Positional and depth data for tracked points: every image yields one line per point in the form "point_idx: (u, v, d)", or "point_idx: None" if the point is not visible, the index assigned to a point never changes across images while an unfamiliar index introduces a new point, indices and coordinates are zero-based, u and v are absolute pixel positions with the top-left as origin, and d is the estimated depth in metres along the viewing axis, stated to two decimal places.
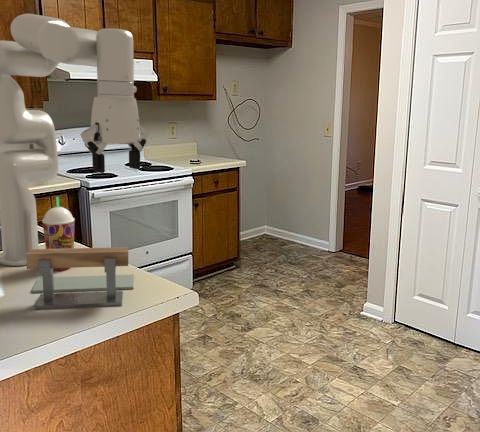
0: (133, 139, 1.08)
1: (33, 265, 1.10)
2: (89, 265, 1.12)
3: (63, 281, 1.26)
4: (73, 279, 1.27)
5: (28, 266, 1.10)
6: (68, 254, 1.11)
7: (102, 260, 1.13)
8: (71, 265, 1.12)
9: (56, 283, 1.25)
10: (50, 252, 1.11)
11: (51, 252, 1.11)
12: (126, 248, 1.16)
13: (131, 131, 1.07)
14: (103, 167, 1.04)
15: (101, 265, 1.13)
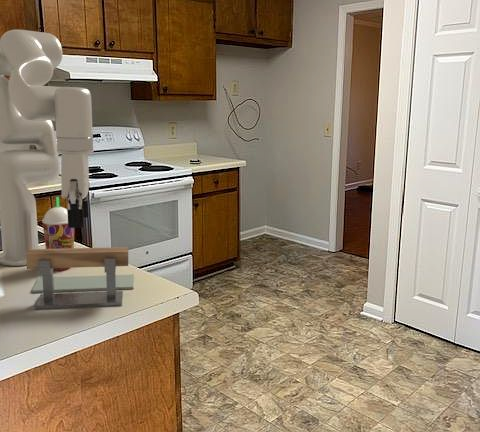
0: None
1: (33, 265, 1.10)
2: (89, 265, 1.12)
3: (63, 281, 1.26)
4: (73, 279, 1.27)
5: (28, 266, 1.10)
6: (68, 254, 1.11)
7: (102, 260, 1.13)
8: (71, 265, 1.12)
9: (56, 283, 1.25)
10: (50, 252, 1.11)
11: (51, 252, 1.11)
12: (126, 248, 1.16)
13: None
14: (83, 221, 1.06)
15: (101, 265, 1.13)
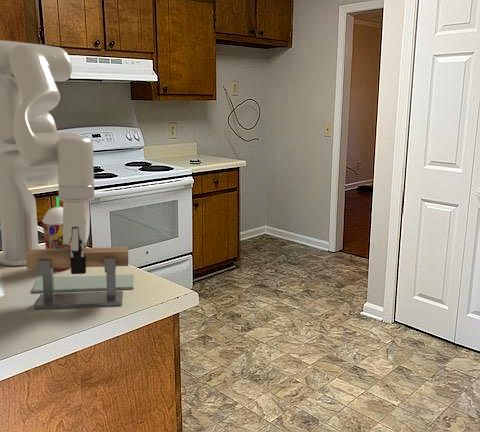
0: None
1: (33, 265, 1.10)
2: (89, 265, 1.12)
3: (63, 281, 1.26)
4: (73, 279, 1.27)
5: (28, 266, 1.10)
6: (68, 254, 1.11)
7: (102, 260, 1.13)
8: None
9: (56, 283, 1.25)
10: (50, 252, 1.11)
11: (51, 252, 1.11)
12: (126, 248, 1.16)
13: (89, 226, 1.14)
14: (85, 268, 1.12)
15: (101, 265, 1.13)
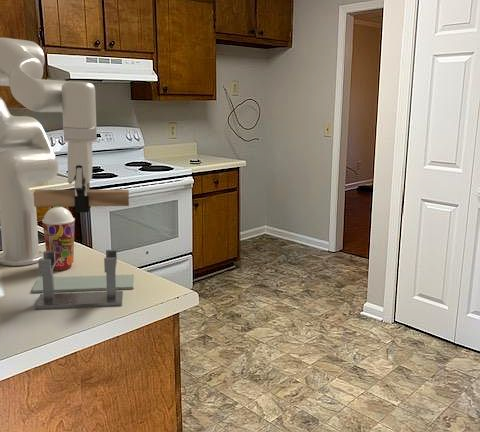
0: (91, 176, 1.23)
1: (40, 203, 1.18)
2: (92, 204, 1.20)
3: (63, 281, 1.26)
4: (73, 279, 1.27)
5: (35, 204, 1.17)
6: (72, 193, 1.19)
7: (104, 200, 1.20)
8: None
9: (56, 283, 1.25)
10: (56, 191, 1.18)
11: (57, 191, 1.18)
12: (127, 190, 1.23)
13: None
14: (88, 207, 1.20)
15: (103, 204, 1.21)
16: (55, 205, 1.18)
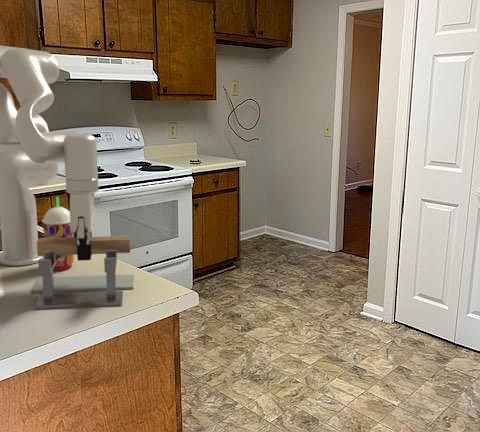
0: (93, 223, 1.26)
1: None
2: (94, 252, 1.23)
3: (63, 281, 1.26)
4: (73, 279, 1.27)
5: (38, 253, 1.20)
6: (75, 242, 1.21)
7: (106, 247, 1.23)
8: None
9: (56, 283, 1.25)
10: (58, 240, 1.21)
11: (59, 240, 1.21)
12: (128, 237, 1.26)
13: None
14: (90, 255, 1.22)
15: (105, 252, 1.23)
16: (58, 254, 1.21)
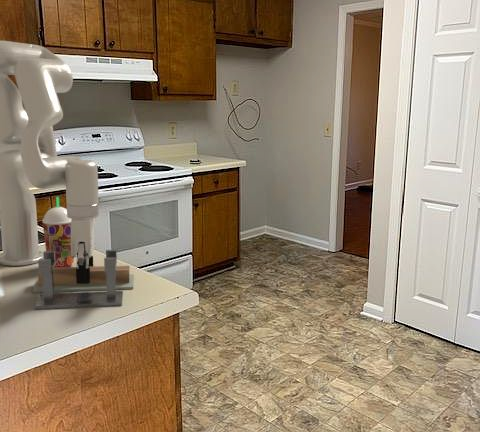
0: None
1: None
2: (94, 282, 1.25)
3: None
4: None
5: (39, 283, 1.22)
6: (75, 273, 1.23)
7: None
8: None
9: None
10: (59, 271, 1.23)
11: (60, 271, 1.23)
12: (127, 266, 1.28)
13: None
14: (89, 278, 1.22)
15: (105, 282, 1.25)
16: (58, 284, 1.23)
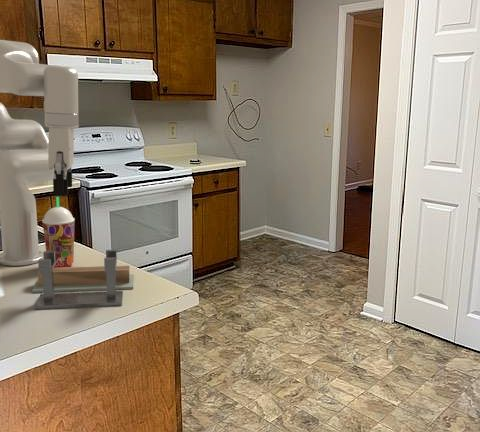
0: None
1: None
2: (94, 282, 1.25)
3: None
4: None
5: (39, 283, 1.22)
6: (75, 273, 1.23)
7: None
8: (78, 282, 1.24)
9: None
10: (59, 271, 1.23)
11: (60, 271, 1.23)
12: (127, 266, 1.28)
13: None
14: (67, 190, 1.17)
15: (105, 282, 1.25)
16: (58, 284, 1.23)
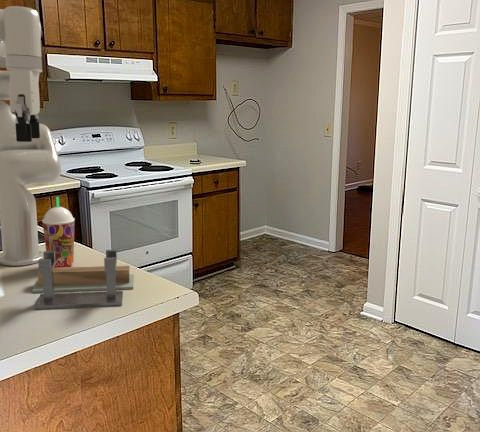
0: (38, 110, 1.19)
1: None
2: (94, 282, 1.25)
3: None
4: None
5: (39, 283, 1.22)
6: (75, 273, 1.23)
7: None
8: (78, 282, 1.24)
9: None
10: (59, 271, 1.23)
11: (60, 271, 1.23)
12: (127, 266, 1.28)
13: (38, 102, 1.18)
14: (31, 136, 1.13)
15: (105, 282, 1.25)
16: (58, 284, 1.23)
